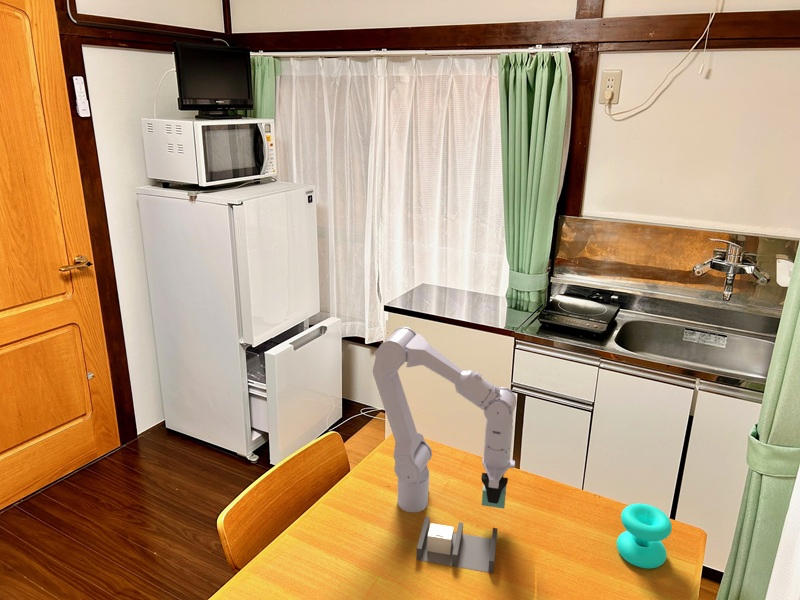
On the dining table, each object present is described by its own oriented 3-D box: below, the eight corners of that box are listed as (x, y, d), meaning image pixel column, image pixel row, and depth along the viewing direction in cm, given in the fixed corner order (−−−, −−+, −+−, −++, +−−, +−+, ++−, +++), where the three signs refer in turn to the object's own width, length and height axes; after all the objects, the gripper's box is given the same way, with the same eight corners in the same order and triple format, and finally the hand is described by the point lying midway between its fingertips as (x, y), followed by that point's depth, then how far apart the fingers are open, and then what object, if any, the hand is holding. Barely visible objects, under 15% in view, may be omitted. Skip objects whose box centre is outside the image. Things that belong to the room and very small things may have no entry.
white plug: (430, 538, 132) (430, 522, 130) (452, 541, 131) (453, 526, 129) (427, 551, 128) (427, 535, 126) (450, 555, 127) (451, 539, 125)
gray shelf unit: (424, 531, 135) (425, 516, 134) (496, 543, 132) (497, 528, 130) (416, 563, 126) (416, 548, 124) (492, 577, 123) (494, 561, 121)
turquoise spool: (619, 522, 124) (625, 495, 132) (612, 561, 127) (619, 532, 136) (671, 538, 120) (674, 509, 128) (663, 578, 123) (666, 546, 131)
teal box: (483, 494, 137) (484, 478, 136) (505, 497, 136) (506, 482, 135) (481, 505, 134) (482, 489, 132) (504, 508, 133) (505, 493, 131)
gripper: (515, 465, 122) (510, 519, 127) (517, 428, 136) (513, 478, 140) (480, 460, 124) (476, 514, 128) (486, 424, 137) (483, 474, 142)
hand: (493, 495), depth 134 cm, fingers closed on teal box, 4 cm apart
